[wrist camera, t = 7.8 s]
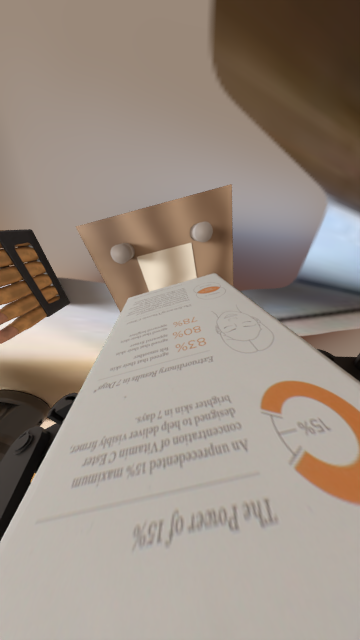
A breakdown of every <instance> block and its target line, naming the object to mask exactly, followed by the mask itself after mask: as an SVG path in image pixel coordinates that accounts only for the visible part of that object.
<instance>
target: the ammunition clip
mask: <svg viewBox="0 0 360 640" xmlns="http://www.w3.org/2000/svg"><path fill="white" fill-rule="evenodd" d="M15 247H18V248H15ZM0 248H4V249H0V287H2V286H5V285H8V284H11V285H8V286H5V287H2V288H0V305H2V304H7V303H9V304H7V305H6V306H4V307H3V308H2V309H0V325H1V324H3V323H5V322H7V321H9V320H11V319H13V318H16V317H18V318H17V319H16V320H14V321H13V322H12V323H11V324H9V325H8V326H6V327H5V328H4V329H2V330H0V344H1V343H3V342H6V341H7V340H9V339H11V338H13V337H14V336H16V335H17V334H19V333H21V332H22V331H24V330H26V329H29V328H31V327H32V326H34V325H35V324H36V323H38V322H39V321H41V320H42V319H44V318H45V317H49V316H51V315H52V314H54V313H55V312H57V311H58V310H60V309H62V308H63V307H65V306H66V305H68V304H69V303H70V302H69V300H68V298H67V296H66V294H65V292H64V290H63V288H62V287H61V285H60V283H59V281H58V279H57V277H56V275H55V273H54V271H53V269H52V267H51V265H50V263H49V262H48V260H47V258H46V256H45V254H44V252H43V250H42V248H41V246H40V244H39V242H38V241H37V239H36V237H35V235H34V233H33V231H32V230H30V229H29V230H5V231H4V230H0ZM24 262H28V263H24ZM9 265H15V266H11V267H10V266H9ZM33 276H34V277H33ZM21 280H23V281H21ZM17 299H18V300H17ZM15 300H16V301H15ZM13 301H14V302H13ZM10 302H12V303H10ZM19 316H20V317H19Z"/></svg>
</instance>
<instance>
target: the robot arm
mask: <svg viewBox="0 0 360 640" xmlns="http://www.w3.org/2000/svg"><path fill="white" fill-rule="evenodd" d="M317 350H318V351H320V352H321V353H322V354H323V355H325V356H326V357H327V358H329V359H330V360H331V361H333V362H334V363H335V364H337V365H338V366H339V367H341V368H342V369H343V370H345V371H346V372H347V373H349V374H350V375H351V376H353V377H354V378H355V379H357V380H358V381H359V382H360V354H359V355H358V356H357V357H335V356H333V355H331V354H330V353H328V352H326V351H323V350H319V349H317ZM77 395H78V394H77V393H71V394H68V395H66V396H64V397H63V398H61V399H60V400H59V401H58V402H57V403H56V404H55V405H54V406H53V407H52V408H51V410H50V408H49V406H48V405H47V404H46V403H45V402H44V401H42V400H41V399H39V398H37V397H35V396H32V395H29V394H26V393H22V392H17V391H8V390H0V541H1V539H2V537H3V536H4V534H5V532H6V530H7V528H8V526H9V524H10V522H11V520H12V518H13V517H14V515H15V513H16V511H17V509H18V507H19V505H20V503H21V501H22V499H23V498H24V496H25V494H26V492H27V490H28V488H29V486H30V484H31V482H30V481H31V479H32V477H33V475H34V473H37V471H38V469H39V467H40V465H41V463H42V462H43V460H44V458H45V456H46V454H47V452H48V450H49V448H50V446H51V444H52V443H53V441H54V439H55V437H56V435H57V433H58V431H59V429H60V427H61V426H62V424H63V422H64V420H65V418H66V416H67V414H68V412H69V410H70V408H71V407H72V405H73V403H74V401H75V399H76V397H77ZM46 418H49V419H51V420H52V421H54V422H56V424H54V425H52V426H51V427H49V428H47V429H44V428H42V427H40V425H41V424H42V423H43V422H44V421H45V419H46Z"/></svg>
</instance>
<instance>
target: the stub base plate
mask: <svg viewBox="0 0 360 640" xmlns="http://www.w3.org/2000/svg"><path fill="white" fill-rule="evenodd" d="M76 228H77V230H78V232H79V234H80V236H81V238H82V240H83V242H84V244H85V246H86V247H87V249H88V251H89V253H90V255H91V257H92V259H93V261H94V262H95V265H96V267H97V268H98V270H99V272H100V274H101V276H102V278H103V280H104V282H105V284H106V286H107V287H108V289H109V291H110V293H111V295H112V297H113V299H114V301H115V303H116V305H117V307H118V308H119V310H120V312H121V311H122V310H123V308H124V306H125V304H126V302H127V300H128V298H130V297H133V296H137V295H140V294H143V293H147V292H150V291H153V290H157V289H160V288H164V287H167V286H171V285H174V284H178V283H181V282H185V281H188V280H192V279H195V278H199V277H202V276H206V275H209V274H213V273H216V274H217V275H218V276H220V277H221V278H222V279H224V280H225V281H226V282H228V283H229V284H230V285H232V286H233V244H232V243H233V240H232V238H233V237H232V185H227V186H223V187H220V188H216V189H212V190H209V191H205V192H202V193H197V194H194V195H190V196H186V197H183V198H180V199H175V200H172V201H168V202H164V203H161V204H157V205H154V206H150V207H146V208H142V209H139V210H135V211H131V212H128V213H124V214H121V215H117V216H113V217H110V218H106V219H102V220H98V221H95V222H91V223H87V224H84V225H80V226H76Z"/></svg>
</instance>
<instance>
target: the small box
mask: <svg viewBox="0 0 360 640" xmlns="http://www.w3.org/2000/svg"><path fill="white" fill-rule="evenodd" d="M0 640H360V382H359V381H358V380H357V379H355V378H354V377H353V376H351V375H350V374H349V373H347V372H346V371H345V370H343V369H342V368H341V367H339V366H338V365H337V364H335V363H334V362H333V361H331V360H330V359H329V358H327V357H326V356H325V355H323V354H322V353H321V352H320V351H318V350H317V349H316V348H314V347H313V346H312V345H310V344H309V343H308V342H306V341H305V340H304V339H302V338H301V337H300V336H298V335H297V334H296V333H294V332H293V331H292V330H290V329H289V328H288V327H286V326H285V325H284V324H282V323H281V322H280V321H278V320H277V319H276V318H274V317H273V316H271V315H270V314H269V313H268V312H266V311H265V310H264V309H262V308H261V307H260V306H258V305H257V304H256V303H254V302H253V301H252V300H251V299H249V298H248V297H247V296H245V295H244V294H242V293H241V292H240V291H239V290H237V289H236V288H234V287H233V286H232V285H230V284H229V283H228V282H226V281H225V280H224V279H222V278H221V277H220V276H218V275H217V274H216V273H213V274H209V275H206V276H202V277H199V278H195V279H192V280H188V281H185V282H181V283H178V284H174V285H171V286H167V287H164V288H160V289H157V290H153V291H150V292H147V293H143V294H140V295H137V296H133V297H130V298H128V300H127V302H126V304H125V306H124V308H123V310H122V311H121V313H120V315H119V317H118V319H117V321H116V323H115V325H114V327H113V329H112V331H111V332H110V334H109V336H108V338H107V340H106V342H105V344H104V346H103V348H102V350H101V351H100V353H99V355H98V357H97V359H96V361H95V363H94V365H93V367H92V369H91V370H90V372H89V374H88V376H87V378H86V380H85V382H84V384H83V386H82V388H81V389H80V391H79V393H78V395H77V397H76V399H75V401H74V403H73V405H72V407H71V408H70V410H69V412H68V414H67V416H66V418H65V420H64V422H63V424H62V426H61V427H60V429H59V431H58V433H57V435H56V437H55V439H54V441H53V443H52V444H51V446H50V448H49V450H48V452H47V454H46V456H45V458H44V460H43V462H42V463H41V465H40V467H39V469H38V471H37V473H36V475H35V477H34V479H33V480H32V482H31V484H30V486H29V488H28V490H27V492H26V494H25V496H24V498H23V499H22V501H21V503H20V505H19V507H18V509H17V511H16V513H15V515H14V517H13V518H12V520H11V522H10V524H9V526H8V528H7V530H6V532H5V534H4V536H3V537H2V539H1V541H0Z"/></svg>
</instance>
